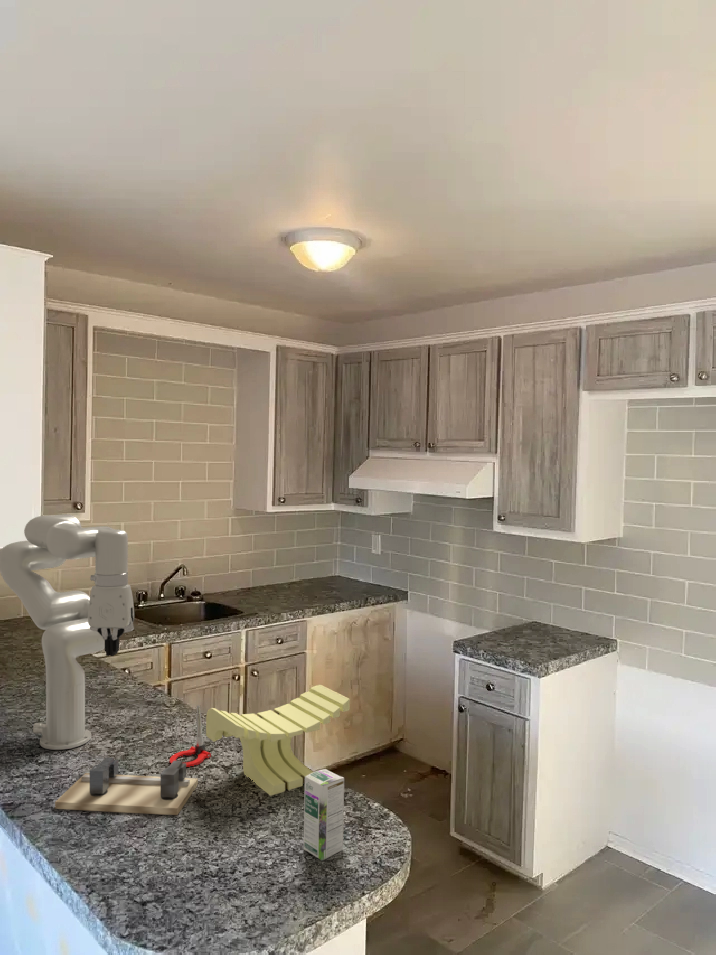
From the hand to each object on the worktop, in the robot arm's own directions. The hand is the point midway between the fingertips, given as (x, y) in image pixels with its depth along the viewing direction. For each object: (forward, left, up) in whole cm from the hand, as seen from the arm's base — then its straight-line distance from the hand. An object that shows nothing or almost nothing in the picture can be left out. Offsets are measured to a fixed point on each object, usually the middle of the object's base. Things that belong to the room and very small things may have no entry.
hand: (111, 654), depth 176 cm
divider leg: (+5, -15, -25) cm, 30 cm away
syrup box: (+57, -33, -27) cm, 71 cm away
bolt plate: (+11, -16, -27) cm, 33 cm away
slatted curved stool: (+42, -2, -27) cm, 50 cm away
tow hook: (+18, +4, -28) cm, 33 cm away
